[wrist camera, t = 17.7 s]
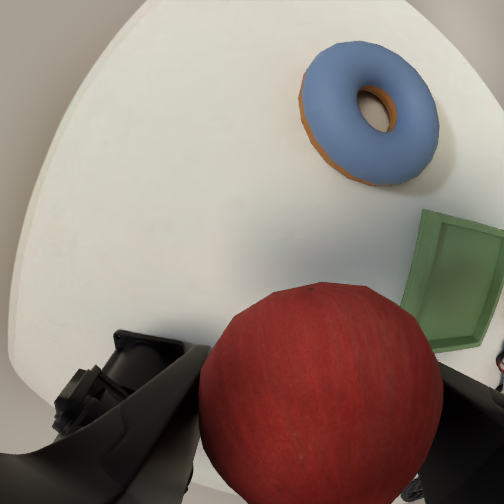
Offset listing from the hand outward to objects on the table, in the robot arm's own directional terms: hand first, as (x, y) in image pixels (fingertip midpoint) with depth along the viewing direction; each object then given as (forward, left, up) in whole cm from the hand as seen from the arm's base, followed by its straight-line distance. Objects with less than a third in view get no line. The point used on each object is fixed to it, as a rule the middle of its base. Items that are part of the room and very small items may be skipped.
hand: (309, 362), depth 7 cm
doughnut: (+5, +10, -12) cm, 17 cm away
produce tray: (+17, -2, -12) cm, 21 cm away
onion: (0, 0, -2) cm, 2 cm away
